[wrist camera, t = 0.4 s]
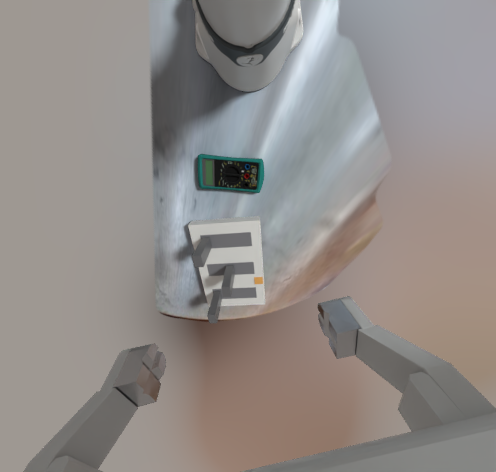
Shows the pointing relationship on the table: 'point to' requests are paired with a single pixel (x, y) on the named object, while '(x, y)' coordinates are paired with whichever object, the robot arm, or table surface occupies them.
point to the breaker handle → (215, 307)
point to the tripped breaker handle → (228, 281)
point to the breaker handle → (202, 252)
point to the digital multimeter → (230, 173)
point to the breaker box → (232, 258)
